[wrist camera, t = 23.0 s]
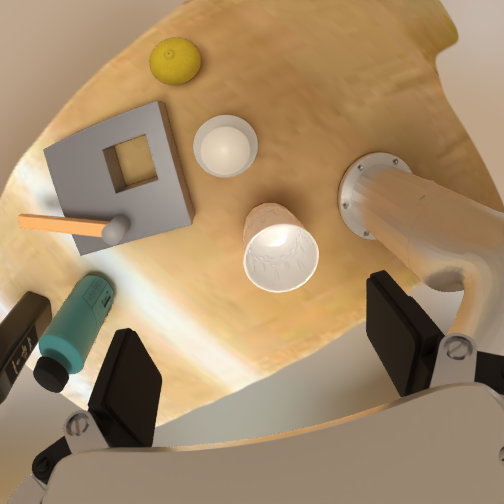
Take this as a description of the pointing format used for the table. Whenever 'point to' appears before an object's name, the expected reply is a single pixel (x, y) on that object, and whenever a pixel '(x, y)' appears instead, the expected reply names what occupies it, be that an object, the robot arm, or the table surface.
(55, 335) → the beverage bottle
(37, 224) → the hammer
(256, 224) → the white cup
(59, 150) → the dock
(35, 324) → the wine bottle
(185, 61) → the lemon
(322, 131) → the table surface
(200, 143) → the plug
